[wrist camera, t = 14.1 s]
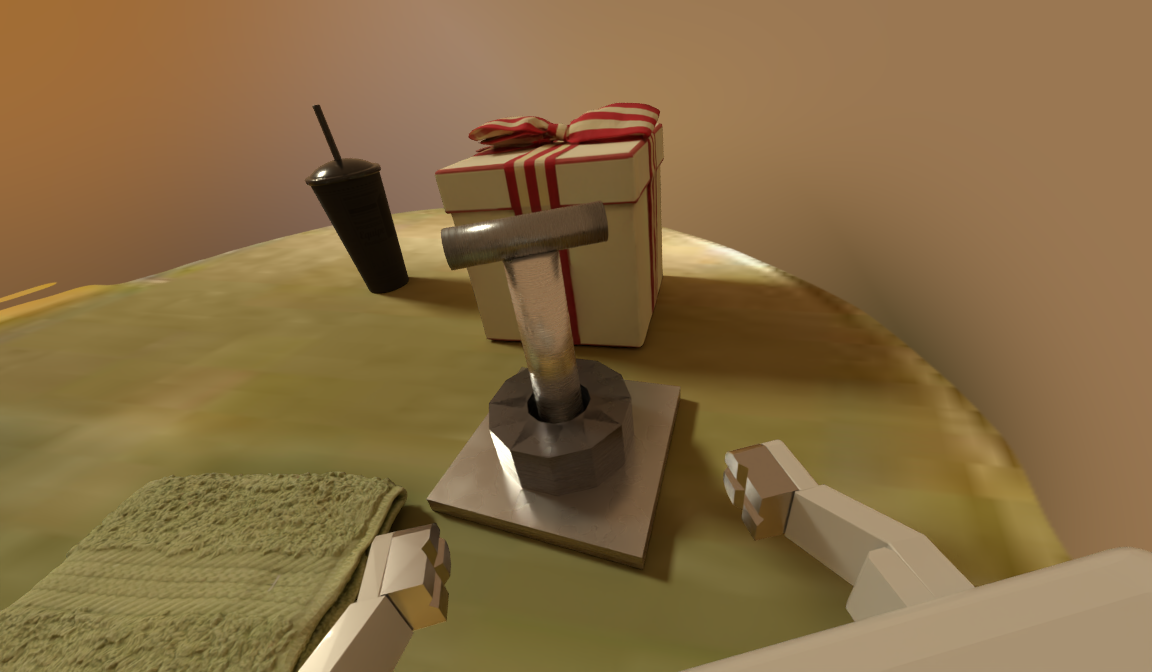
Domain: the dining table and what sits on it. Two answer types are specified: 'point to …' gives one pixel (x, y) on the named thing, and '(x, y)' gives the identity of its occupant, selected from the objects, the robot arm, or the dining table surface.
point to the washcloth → (205, 577)
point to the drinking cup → (360, 215)
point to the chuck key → (536, 290)
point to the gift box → (565, 178)
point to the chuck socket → (568, 466)
